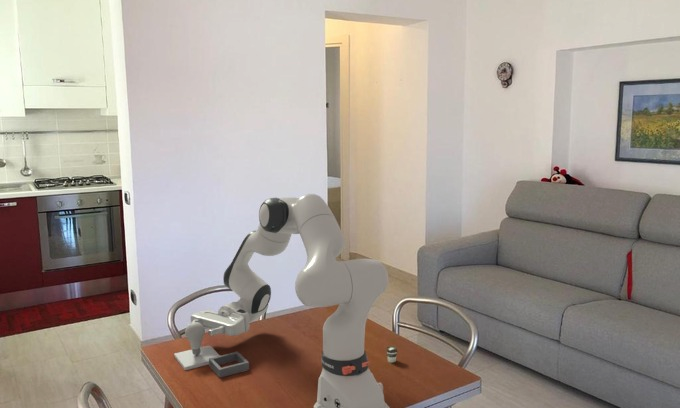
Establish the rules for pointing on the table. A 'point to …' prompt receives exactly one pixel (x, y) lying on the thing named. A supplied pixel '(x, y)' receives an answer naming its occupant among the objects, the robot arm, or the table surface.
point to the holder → (229, 370)
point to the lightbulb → (195, 336)
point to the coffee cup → (391, 354)
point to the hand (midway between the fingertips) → (199, 330)
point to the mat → (195, 357)
